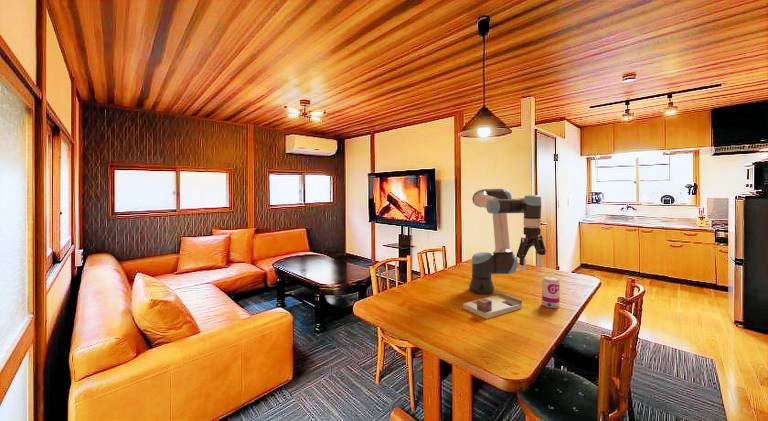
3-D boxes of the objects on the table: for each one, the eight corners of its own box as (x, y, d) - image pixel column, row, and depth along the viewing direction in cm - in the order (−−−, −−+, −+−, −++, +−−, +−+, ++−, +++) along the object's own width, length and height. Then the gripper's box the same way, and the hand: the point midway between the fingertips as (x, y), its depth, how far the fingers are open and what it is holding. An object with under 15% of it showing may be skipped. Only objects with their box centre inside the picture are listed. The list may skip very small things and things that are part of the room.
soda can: (561, 309, 159) (562, 281, 158) (544, 308, 161) (545, 280, 160) (556, 303, 167) (556, 276, 166) (539, 302, 169) (540, 276, 168)
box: (486, 318, 149) (486, 310, 149) (463, 307, 163) (463, 299, 163) (521, 308, 161) (521, 300, 161) (497, 299, 175) (497, 291, 175)
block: (484, 312, 150) (484, 302, 150) (477, 309, 155) (477, 299, 154) (491, 310, 153) (491, 300, 152) (484, 307, 157) (484, 297, 157)
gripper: (522, 229, 139) (522, 275, 141) (554, 225, 152) (553, 267, 153) (508, 228, 145) (508, 271, 147) (540, 224, 158) (539, 264, 160)
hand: (531, 269), depth 150 cm, fingers open, 13 cm apart
